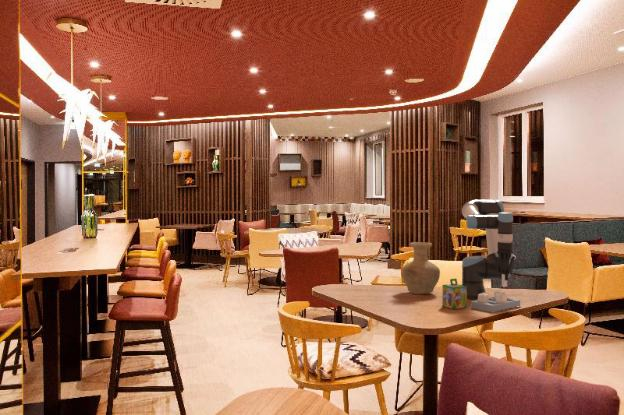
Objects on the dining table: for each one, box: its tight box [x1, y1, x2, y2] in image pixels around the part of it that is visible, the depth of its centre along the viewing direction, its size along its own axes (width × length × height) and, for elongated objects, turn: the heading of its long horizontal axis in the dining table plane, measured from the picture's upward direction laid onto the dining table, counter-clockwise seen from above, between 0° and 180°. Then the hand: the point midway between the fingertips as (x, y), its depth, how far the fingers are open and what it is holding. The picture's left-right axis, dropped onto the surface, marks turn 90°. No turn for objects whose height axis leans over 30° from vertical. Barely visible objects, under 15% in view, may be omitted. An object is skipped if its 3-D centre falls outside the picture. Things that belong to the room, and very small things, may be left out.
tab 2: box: [493, 289, 506, 299], centre depth 282 cm, size 4×4×6 cm
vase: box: [401, 241, 441, 295], centre depth 315 cm, size 22×22×30 cm
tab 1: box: [477, 292, 490, 304], centre depth 274 cm, size 4×4×6 cm
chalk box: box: [441, 278, 468, 310], centre depth 276 cm, size 9×9×15 cm
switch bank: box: [470, 296, 521, 313], centre depth 276 cm, size 24×13×4 cm, turn 126°
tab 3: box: [496, 293, 508, 303], centre depth 273 cm, size 4×4×6 cm
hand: (504, 286), depth 280 cm, fingers closed
